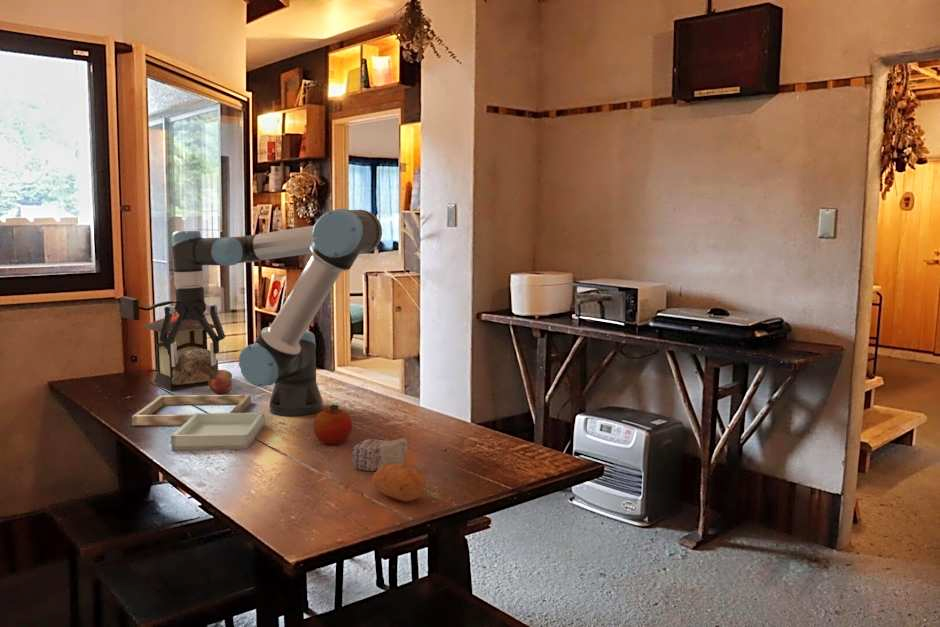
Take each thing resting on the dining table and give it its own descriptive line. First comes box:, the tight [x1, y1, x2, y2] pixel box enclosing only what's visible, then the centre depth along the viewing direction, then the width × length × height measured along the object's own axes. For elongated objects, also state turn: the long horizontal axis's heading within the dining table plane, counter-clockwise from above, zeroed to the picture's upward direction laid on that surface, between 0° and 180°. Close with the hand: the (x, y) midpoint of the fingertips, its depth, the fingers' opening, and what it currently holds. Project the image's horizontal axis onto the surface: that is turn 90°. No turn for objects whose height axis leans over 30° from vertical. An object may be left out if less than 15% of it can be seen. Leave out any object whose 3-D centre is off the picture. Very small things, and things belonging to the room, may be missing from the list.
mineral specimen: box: [351, 438, 409, 472], centre depth 178 cm, size 13×7×6 cm, turn 112°
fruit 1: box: [208, 369, 233, 395], centre depth 244 cm, size 8×8×8 cm
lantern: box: [119, 296, 215, 392], centre depth 254 cm, size 18×26×30 cm
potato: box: [372, 464, 426, 503], centre depth 158 cm, size 7×13×7 cm, turn 41°
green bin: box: [170, 412, 265, 451], centre depth 200 cm, size 18×21×4 cm
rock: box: [172, 348, 220, 385], centre depth 220 cm, size 14×9×10 cm
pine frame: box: [131, 394, 252, 426], centre depth 223 cm, size 26×23×2 cm
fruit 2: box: [312, 404, 353, 446], centre depth 195 cm, size 10×10×10 cm
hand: (194, 365), depth 221 cm, fingers closed on rock, 10 cm apart
